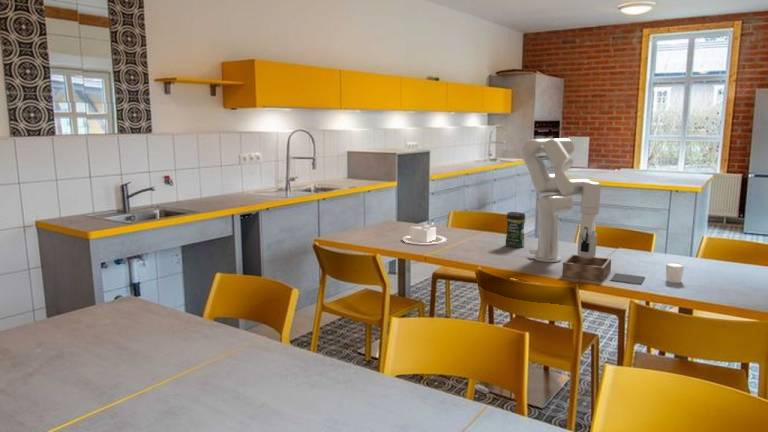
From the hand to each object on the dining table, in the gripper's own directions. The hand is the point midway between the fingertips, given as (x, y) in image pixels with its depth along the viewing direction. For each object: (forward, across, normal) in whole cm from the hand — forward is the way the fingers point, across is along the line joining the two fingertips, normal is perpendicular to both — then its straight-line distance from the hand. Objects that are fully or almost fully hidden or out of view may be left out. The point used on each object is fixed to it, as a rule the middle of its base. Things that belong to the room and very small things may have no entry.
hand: (586, 249), depth 251 cm
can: (+4, 0, 0) cm, 4 cm away
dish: (+14, -25, -93) cm, 98 cm away
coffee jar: (+13, -36, -44) cm, 59 cm away
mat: (+11, +1, +18) cm, 21 cm away
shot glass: (+10, -6, +35) cm, 37 cm away
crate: (+11, +1, +1) cm, 11 cm away
